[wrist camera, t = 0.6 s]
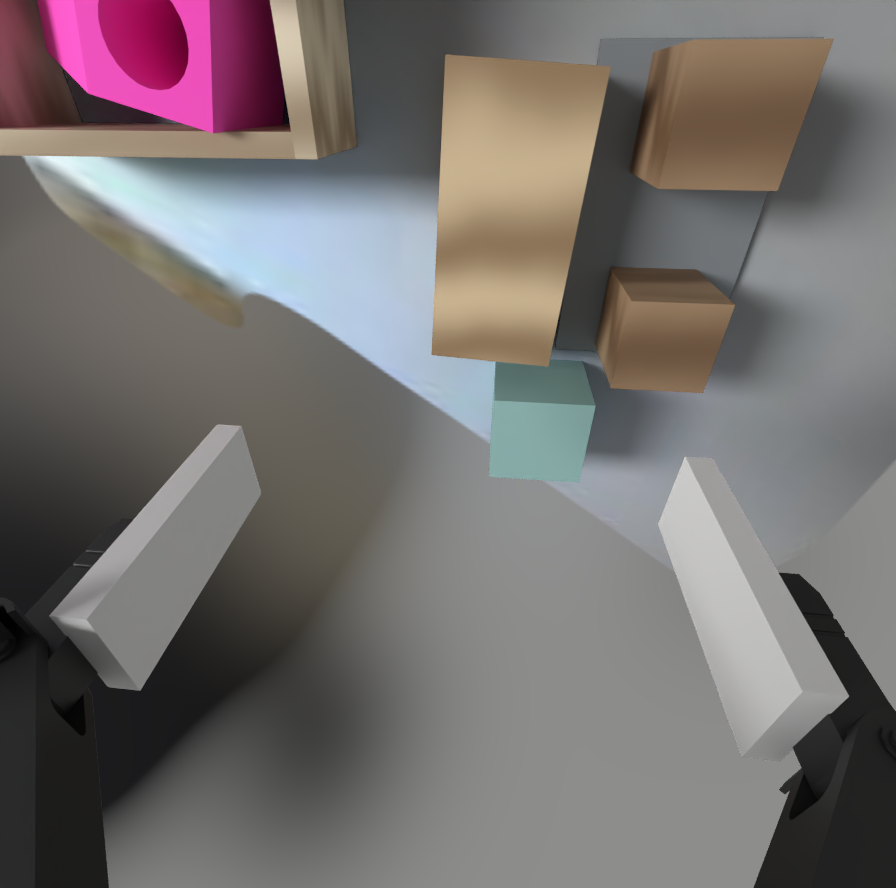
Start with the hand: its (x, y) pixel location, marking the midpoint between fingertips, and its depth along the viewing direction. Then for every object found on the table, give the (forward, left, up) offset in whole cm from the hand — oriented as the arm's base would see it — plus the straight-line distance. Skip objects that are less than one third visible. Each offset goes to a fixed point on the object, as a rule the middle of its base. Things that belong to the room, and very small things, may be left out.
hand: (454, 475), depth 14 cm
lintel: (-4, +1, -20) cm, 20 cm away
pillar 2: (+1, +10, -19) cm, 22 cm away
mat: (-4, +10, -20) cm, 22 cm away
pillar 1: (-9, +10, -19) cm, 23 cm away
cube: (+8, +4, -20) cm, 22 cm away
